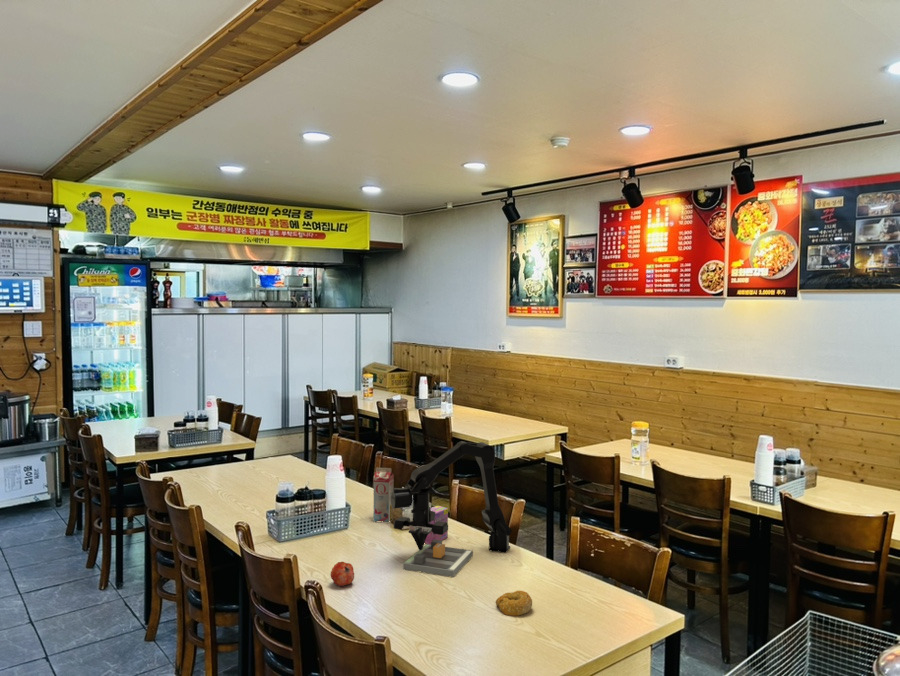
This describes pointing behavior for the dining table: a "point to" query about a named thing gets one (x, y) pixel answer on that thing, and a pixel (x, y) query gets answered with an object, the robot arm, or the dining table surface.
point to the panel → (438, 560)
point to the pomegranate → (342, 573)
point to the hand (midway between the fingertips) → (420, 549)
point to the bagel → (514, 603)
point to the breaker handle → (439, 550)
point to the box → (441, 516)
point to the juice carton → (383, 493)
